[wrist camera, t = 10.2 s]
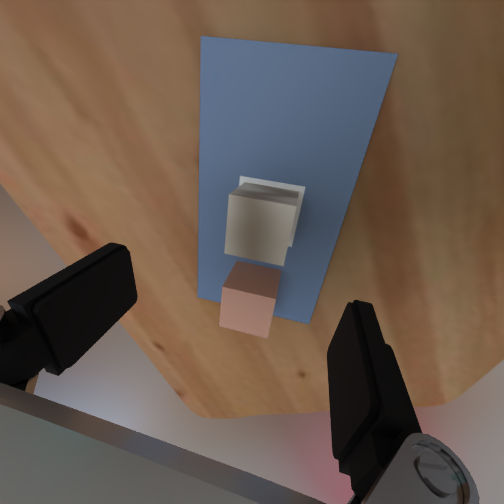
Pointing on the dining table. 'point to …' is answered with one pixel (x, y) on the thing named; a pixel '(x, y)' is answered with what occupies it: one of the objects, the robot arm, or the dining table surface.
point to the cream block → (260, 222)
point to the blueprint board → (284, 150)
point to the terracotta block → (249, 298)
